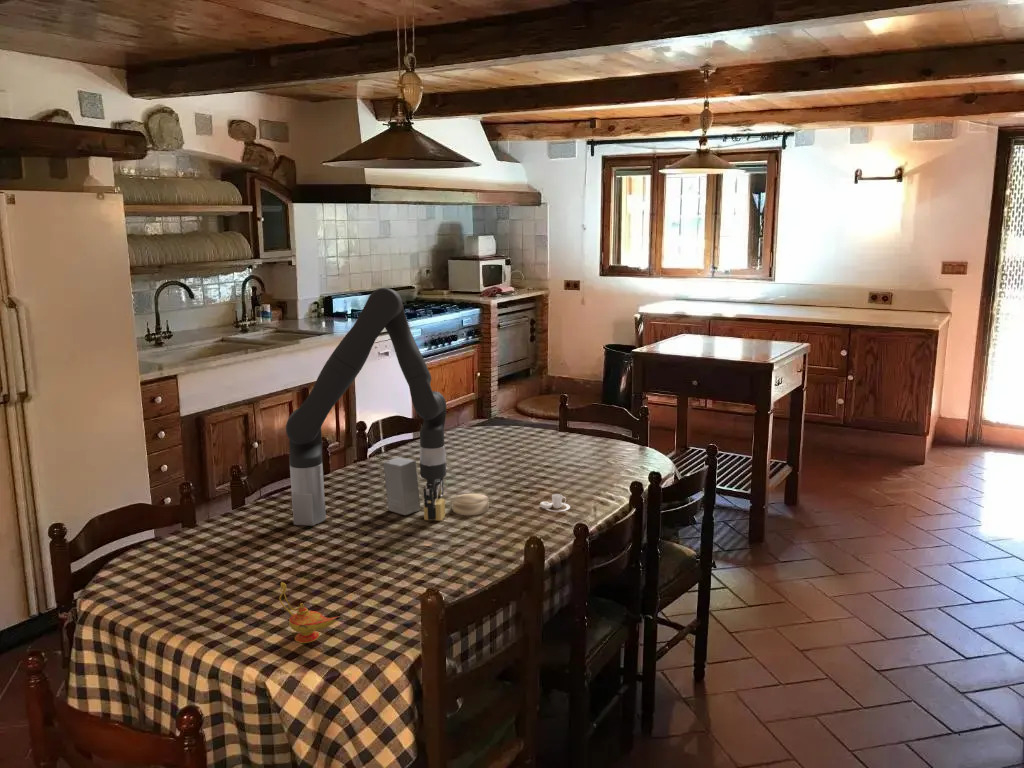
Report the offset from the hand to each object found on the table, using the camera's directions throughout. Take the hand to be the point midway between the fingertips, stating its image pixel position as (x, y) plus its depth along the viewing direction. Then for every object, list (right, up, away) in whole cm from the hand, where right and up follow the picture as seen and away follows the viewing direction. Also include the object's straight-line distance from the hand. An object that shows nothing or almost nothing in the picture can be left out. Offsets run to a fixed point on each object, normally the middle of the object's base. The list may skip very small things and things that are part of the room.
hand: (434, 515), depth 241 cm
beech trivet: (+10, +1, +6) cm, 12 cm away
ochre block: (0, -1, 0) cm, 1 cm away
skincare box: (-10, 0, +6) cm, 12 cm away
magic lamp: (-19, -15, -69) cm, 73 cm away
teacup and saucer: (+35, +1, +10) cm, 36 cm away
